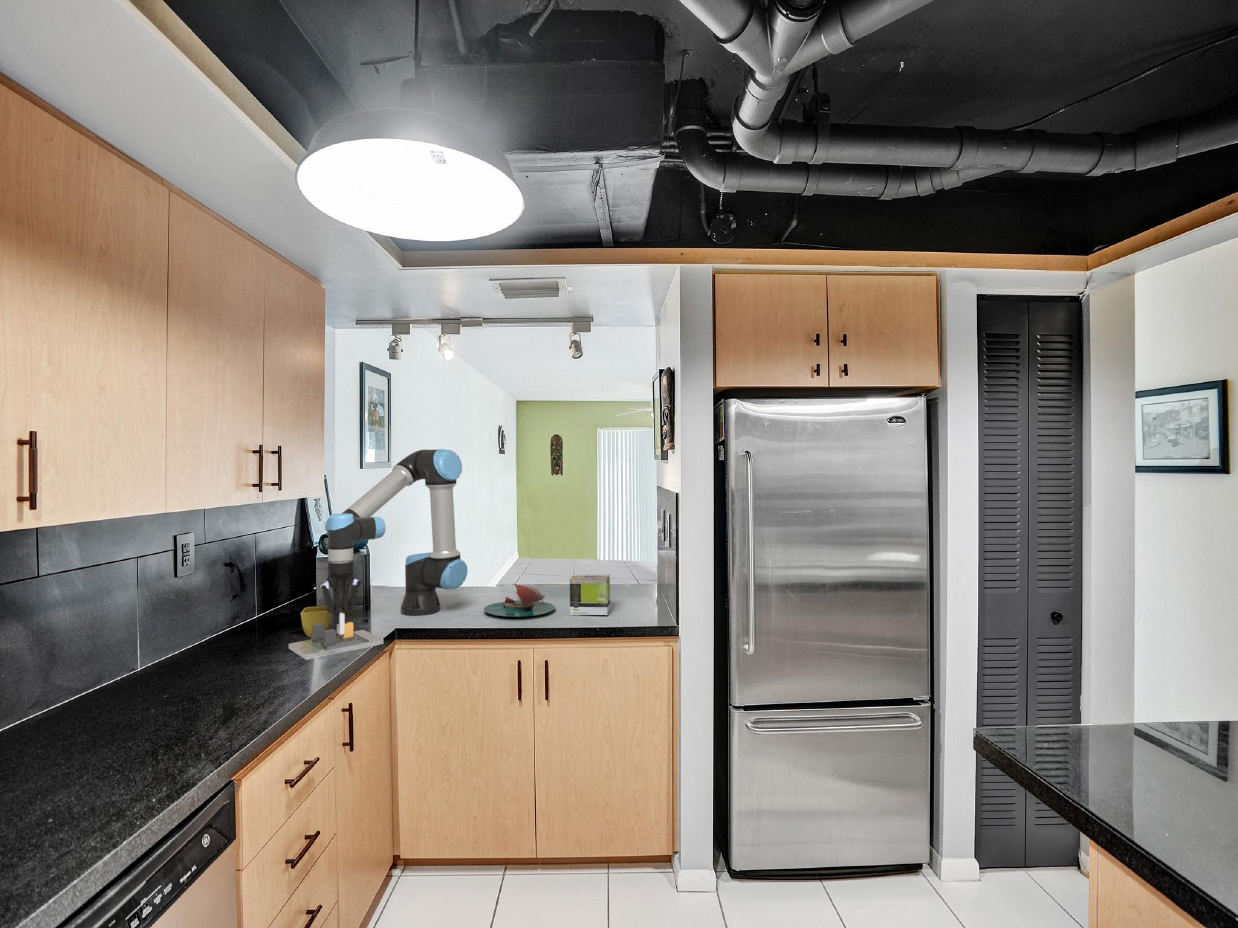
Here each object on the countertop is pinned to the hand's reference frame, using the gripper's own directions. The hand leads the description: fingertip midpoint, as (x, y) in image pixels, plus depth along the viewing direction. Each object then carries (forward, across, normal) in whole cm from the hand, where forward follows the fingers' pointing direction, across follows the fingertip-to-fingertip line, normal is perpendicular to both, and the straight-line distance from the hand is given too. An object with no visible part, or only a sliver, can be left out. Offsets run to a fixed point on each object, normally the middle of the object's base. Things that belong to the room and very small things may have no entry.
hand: (340, 633), depth 205 cm
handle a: (+2, +5, -5) cm, 8 cm away
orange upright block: (+2, -2, 0) cm, 3 cm away
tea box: (+4, -88, +24) cm, 91 cm away
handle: (+2, +5, +5) cm, 8 cm away
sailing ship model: (+4, -69, +3) cm, 69 cm away
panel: (+4, +1, 0) cm, 4 cm away
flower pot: (+4, +1, -18) cm, 19 cm away
